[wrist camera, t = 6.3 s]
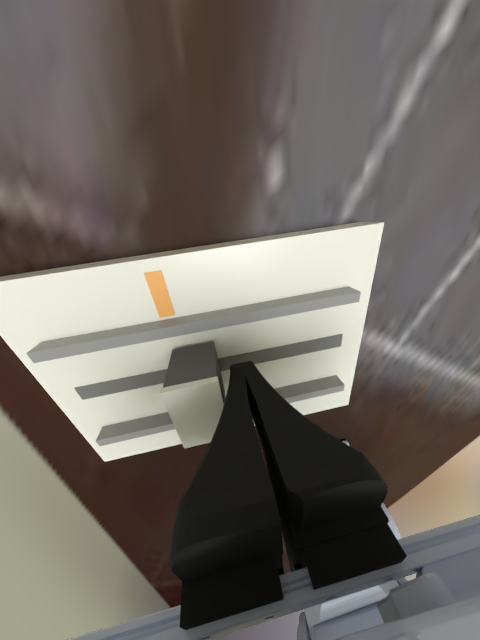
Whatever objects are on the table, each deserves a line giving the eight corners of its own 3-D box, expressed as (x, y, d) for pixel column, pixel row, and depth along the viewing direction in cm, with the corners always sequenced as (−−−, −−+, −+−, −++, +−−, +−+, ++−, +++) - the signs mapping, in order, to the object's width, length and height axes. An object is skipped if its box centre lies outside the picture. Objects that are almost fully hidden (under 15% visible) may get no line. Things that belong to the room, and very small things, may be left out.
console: (357, 222, 12) (401, 222, 9) (334, 387, 18) (356, 414, 16) (2, 276, 10) (-68, 295, 8) (115, 436, 17) (98, 476, 14)
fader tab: (214, 340, 11) (217, 381, 8) (225, 390, 13) (231, 437, 10) (171, 349, 11) (159, 393, 8) (188, 398, 13) (184, 448, 10)
